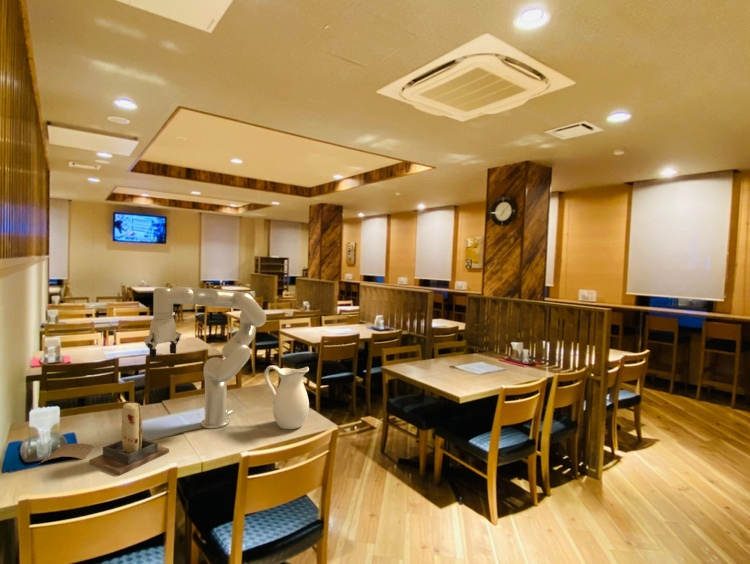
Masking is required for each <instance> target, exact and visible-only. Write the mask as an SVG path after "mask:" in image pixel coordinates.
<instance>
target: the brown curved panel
mask: <svg viewBox="0 0 750 564" xmlns="http://www.w3.org/2000/svg"><path fill="white" fill-rule="evenodd" d="M59 447H60V448H59ZM59 447H58V448H59V449H57V448H56V449H57V450H56V451H55V452H53V453H52V454H51V455H50V456H49V457H47V456H46V457H47V458H46V457H45V458H46V459H45V458H44V459H43V460H41V461H40V462H41V463H40V462H39V463H38V465H40V464H42V463H43V462H46V461H48V460H51V459H57V458H60V457H68V458H69V457H70V458H71V457H72V458H77V459H80V460H85V459H86V458H87V456H88V455H89V454H90V453H91V451H92V450H93V449H94V448H95V447H94V446H93V445H91V444H88V443H68V444H64V445H61V446H59Z"/></svg>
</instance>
